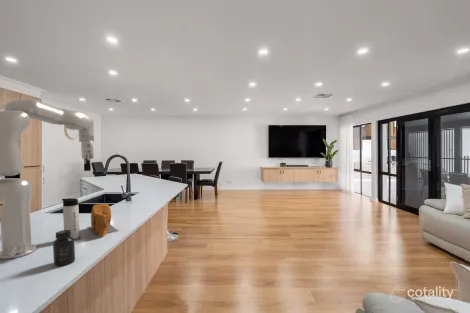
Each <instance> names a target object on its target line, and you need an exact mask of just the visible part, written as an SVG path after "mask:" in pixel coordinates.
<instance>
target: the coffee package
mask: <svg viewBox="0 0 470 313" xmlns="http://www.w3.org/2000/svg"><path fill="white" fill-rule="evenodd" d="M111 219H112V209H111V208H110V205H109V204H107V203H106V204H105V203H98V204H94V205H93V206H92V208H91V212H90V223H91V226H92V231H93V232H95V233H97V234H99V235H98V236H99V238H103V237H104V236H105V235H106V233H107V231H108V228H109V226H110V225H111ZM107 234H108V233H107Z"/></svg>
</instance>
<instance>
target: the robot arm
mask: <svg viewBox="0 0 470 313" xmlns="http://www.w3.org/2000/svg"><path fill="white" fill-rule="evenodd" d="M31 119H34V120H37V121H41V122H43V123H48V124H51V125H58V126H59V125H60V126H61V125H64V127H65V128H66V129H68V130H70V131H71V130H73V131H78V142H79V143H81V148H80V150H81V158H82V159H83V171H84V172H90V171H91V170H92V166H91V159H94V158H95V154H94V142H95V130H94V119H93V118H91V117H90V116H89V115H87V114H85V113H83V112H80V111H74V110H69V109H66V108H61V107H56V106H54V105H52V104H47V103H45V102H43V101H41V100H38V99H34V98H33V99H31V98H30V99H28V98H27V99H16V100H12V101H9V102H7V103H5V104H3V105H2V106H0V202H3V205H2V207H1V208H0V234H1V235H0V236H1V237H0V238H1V251H0V260H9V259H15V258H20V257H24V256H26V255H30V254H32V253H33V252H35V251H36V250H37V246H36V245H34V244H32V228H31V227H32V225H31V223H32V221H31V220H32V219H31V199H32V193H33V186H32V184H31V183H30V182H29V181H28V180H26V179H25V178H24V179H23V178H19V177H18V178H16V177H15V178H10V177H11V176H16V175H19V174H21V173H22V171H23V168H24V167H23V166H24V165H23V158H22V155H21V149H20V143H19V139H20V136H21V134H23V132H24V130H26V129H27V128H28V127H29V125H30V124H31V123H30V122H31ZM6 177H9V178H6Z"/></svg>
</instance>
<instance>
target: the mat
mask: <svg viewBox="0 0 470 313" xmlns="http://www.w3.org/2000/svg"><path fill="white" fill-rule="evenodd" d="M87 229H88V230H89V231H90V232H91V234H92V235H93V236H94V237H96V236H99V234H97V233H95V232H93V231H92V225H91V226H87ZM115 232H116V233H117V232H119V230H118V229H117V228H115V227H114V226H113V225H112V224H110V226H109V228H108V231H107V233H106V234H111V233H115ZM106 234H105V235H106Z"/></svg>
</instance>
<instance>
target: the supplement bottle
mask: <svg viewBox="0 0 470 313" xmlns="http://www.w3.org/2000/svg"><path fill="white" fill-rule="evenodd" d="M75 245H76V244H75V240H74V238H73V237H71V230H64V229H63V230H58V231H56V232H55V240H53V242H52V251H53V253H52V254H53V264H54V265H53V266H56V267H64V266H67V265H71V264H73V263H75V261H76V251H75V250H76V248H75Z"/></svg>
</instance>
